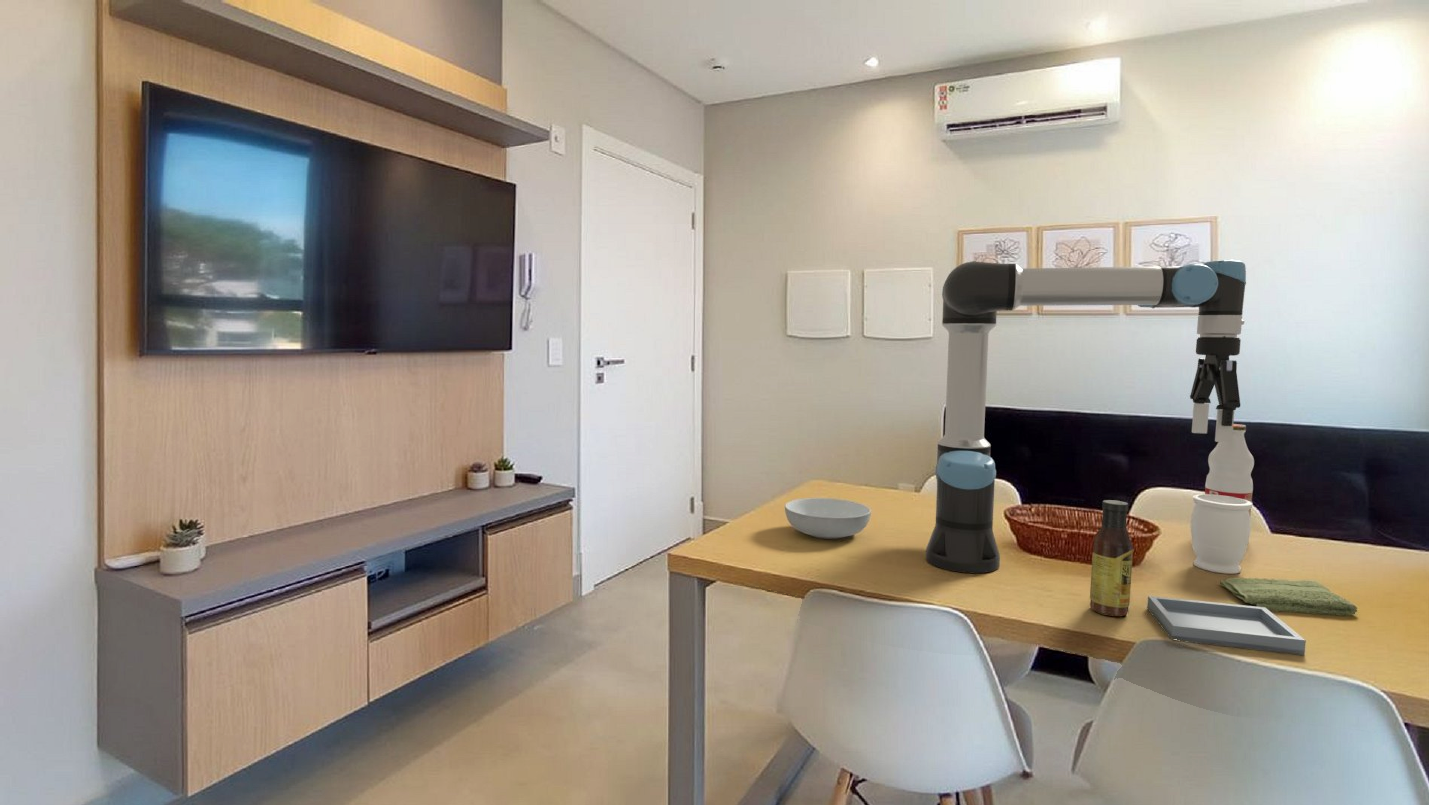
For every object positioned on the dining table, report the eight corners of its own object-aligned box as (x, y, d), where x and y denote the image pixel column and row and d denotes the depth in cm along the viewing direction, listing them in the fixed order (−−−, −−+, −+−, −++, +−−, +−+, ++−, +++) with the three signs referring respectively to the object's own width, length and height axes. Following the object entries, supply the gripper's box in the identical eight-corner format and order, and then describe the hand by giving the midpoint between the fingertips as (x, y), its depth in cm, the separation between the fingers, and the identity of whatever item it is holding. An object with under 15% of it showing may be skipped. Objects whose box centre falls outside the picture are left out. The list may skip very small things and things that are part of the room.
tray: (1172, 640, 116) (1173, 625, 116) (1147, 608, 129) (1148, 595, 129) (1304, 655, 111) (1305, 640, 111) (1264, 620, 124) (1265, 607, 124)
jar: (1257, 578, 146) (1263, 506, 145) (1201, 574, 148) (1206, 503, 147) (1231, 562, 157) (1236, 494, 155) (1179, 558, 159) (1183, 492, 157)
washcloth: (1215, 587, 142) (1216, 571, 142) (1318, 595, 138) (1320, 579, 138) (1247, 611, 130) (1249, 594, 129) (1362, 621, 126) (1364, 603, 125)
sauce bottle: (1128, 621, 124) (1135, 508, 122) (1087, 613, 127) (1094, 503, 125) (1129, 609, 129) (1136, 501, 127) (1090, 601, 132) (1097, 496, 131)
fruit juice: (1258, 542, 172) (1268, 426, 170) (1224, 543, 171) (1233, 427, 168) (1224, 531, 182) (1233, 422, 179) (1192, 532, 180) (1200, 422, 177)
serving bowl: (878, 547, 166) (879, 518, 165) (788, 546, 166) (788, 517, 165) (861, 523, 186) (862, 497, 186) (781, 522, 187) (781, 496, 186)
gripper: (1266, 336, 136) (1257, 447, 138) (1216, 336, 160) (1209, 430, 162) (1220, 336, 138) (1212, 444, 140) (1178, 335, 162) (1171, 428, 164)
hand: (1210, 437), depth 151 cm, fingers open, 13 cm apart
